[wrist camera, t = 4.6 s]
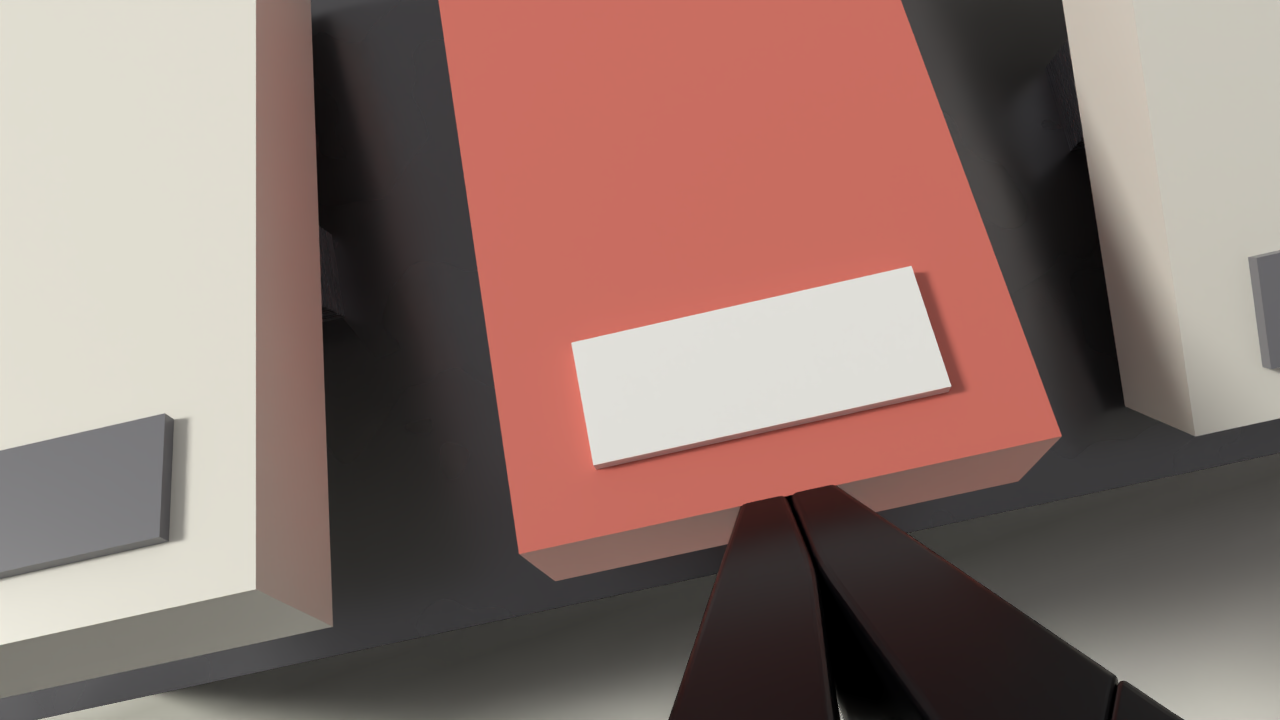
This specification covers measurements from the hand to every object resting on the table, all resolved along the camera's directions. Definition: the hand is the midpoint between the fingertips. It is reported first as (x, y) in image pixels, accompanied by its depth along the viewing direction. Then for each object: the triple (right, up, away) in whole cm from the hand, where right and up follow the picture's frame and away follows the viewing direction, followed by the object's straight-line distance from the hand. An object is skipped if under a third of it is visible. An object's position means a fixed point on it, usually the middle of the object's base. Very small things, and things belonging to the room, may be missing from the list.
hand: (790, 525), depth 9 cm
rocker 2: (-1, +4, +2) cm, 5 cm away
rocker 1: (-8, +3, +2) cm, 8 cm away
